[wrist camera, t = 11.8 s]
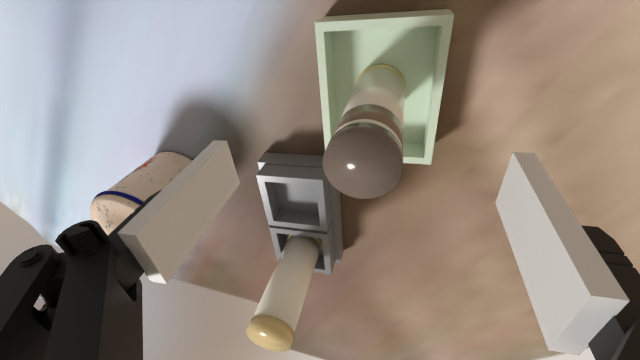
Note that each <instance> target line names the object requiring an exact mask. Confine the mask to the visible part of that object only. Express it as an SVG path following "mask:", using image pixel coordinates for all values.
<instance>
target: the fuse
mask: <svg viewBox="0 0 640 360" xmlns="http://www.w3.org/2000/svg"><path fill="white" fill-rule="evenodd" d="M321 248H322V239H321V238H313V237H305V236H297V235H289V236H288V239H287V242H286V244H285V246H284V249H283V251H282V253H281V255H280V258H279V260H278V262H277V264H276V267H275V269H274V271H273V273H272V276H271V278H270V280H269V282H268V285H267V287H266V289H265V291H264V294H263V296H262V298H261V300H260V303H259V305H258V307H257V309H256V312H255V314H254V316H253V318H252V319H251V322H250V324H249V326H248V328H247V331H246V333H247V335H248V337H249V338H250V339H251V340H252V341H253V342H254V343H256V344H257V345H259V346H261V347H263V348H266V349H269V350H272V351H279V352H281V351H282V352H283V351H287V350H289V349H290V347H291V344H292V341H293V337H294V332H295V329H296V326H297V323H298V320H299V316H300V313H301V310H302V307H303V304H304V300H305V297H306V294H307V291H308V288H309V285H310V281H311V278H312V275H313V272H314V269H315V265H316V262H317V259H318V256H319V253H320V251H321Z"/></svg>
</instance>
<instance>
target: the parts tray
mask: <svg viewBox="0 0 640 360" xmlns="http://www.w3.org/2000/svg"><path fill="white" fill-rule="evenodd" d="M453 20H454V13H453V12H452V11H451V10H450V9H437V10H421V11H405V12H389V13H373V14H357V15H341V16H325V17H323V18H321V19H320V20H318V21H316V22H315V33H316V45H317V58H318V70H319V82H320V94H321V107H322V119H323V131H324V143H325V150H326V148H327V146H328V143H329V141H330V139H331V138H332V136H333V134H334V131H335V129H336V127H337V125H338V122H339V120H340V119H341V116H342V114H343V112H344V110H345V107H346V105H347V103H348V101H349V98H350V96H351V94H352V92H353V89H354V86H355V83H356V81H357V79H358V77H359V75H360V74H361V73H362V72H363V71H364V70H365V69H366V68H368V67H369V66H372V65H375V64H388V65H391V66H393V67H395V68H396V69H397V70H399V71H400V73H401V74H402V76H403V77H404V80H405V85H406V92H405V101H404V126H403V163H412V164H429V165H431V161H432V155H433V148H434V142H435V135H436V129H437V123H438V116H439V110H440V103H441V97H442V91H443V84H444V78H445V71H446V65H447V59H448V52H449V46H450V39H451V33H452V26H453Z"/></svg>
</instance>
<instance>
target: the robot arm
mask: <svg viewBox="0 0 640 360" xmlns="http://www.w3.org/2000/svg"><path fill="white" fill-rule="evenodd" d="M239 184H240V182H239V179H238V175H237V172H236V169H235V166H234V162H233V159H232V156H231V152H230V149H229V146H228V143H227V141H219V140H213V141H212V142H211V143H210V144H209V145H208V146H207V147H206V148H205V149H204V150H203V151H202V152H201V153H200V154H199V155H198V156H197V157H196V158H195V159H194V160H193V161H192V162H191V163H190V164H189V165H188V166H186V167H185V168H184V169H183V170H182V171H181V172H180V173H179V174H178V175H177V176H176V177H175V178H174V179H173V180H172V181H171V182H170V183H169V184H168V185H167V186H166V187H165V188H164V189H163V190H160V191H158V192H156V193H155V194H153V195H151V196H150V197H148V198H147V199H146V200H145V201H144V202H143V203H142V204H141V206H139V207H138V208H137V209H136V210H135V211H134V213H131V214H130V215H129V216H128V217H127V218H126V219H125V220H124V221H123V222H122V223H121V224H120V225H119V226H118V227H116V228H115V229H114V230H113V231H112V232H111V233H110V234H109V235H107V234H106V233H105V231H104V230H103V228H102V227H101V226H100V224H99V223H98V222H96V221H94V220H87V221H83V222H79V223H77V224H75V225H72V226H71V227H69V228H67V229H66V230H64V231H63V232H62V233H61V234H60V235H59V236H58V237H57V239H56V243H57V244H58V245H59V246H60V247H61V248H62V249H63V250H64V253H58V252H56V250H55V249H54V248H53V247H52V246H50V245H39V246H36V247H33V248H30V249H28V250H26V251H24V252H23V253H22V254H20V255H19V256H17V257H16V258H15V259H14V260H13V261H12V262H11V263H10V264H9V265H8V267H7V268H6V270H5V271H4V272H3V273H2V275H1V276H0V360H143V333H142V332H143V329H142V328H143V327H142V284H141V281H140V279H139V278H140V276H141V275H142V274H143V273H144V272H145V274H146V275H147V277H148V278H149V279H150V281H153V282H158V283H164V284H167V283H168V282H169V280H170V279H171V278H172V276H173V275H174V274H175V272H176V271H177V269H178V268H179V267H180V265H181V264H182V263H183V261H184V260H185V258H186V257H187V256H188V254H189V253H190V252H191V250H192V249H193V247H194V246H195V245H196V243H197V242H198V241H199V239H200V238H201V237H202V235H203V234H204V232H205V231H206V230H207V228H208V227H209V226H210V224H211V223H212V221H213V220H214V219H215V217H216V216H217V215H218V213H219V212H220V210H221V209H222V208H223V206H224V205H225V204H226V202H227V201H228V199H229V198H230V197H231V195H232V194H233V193H234V191H235V190H236V188H237V187H238V186H239ZM496 206H497V208H498V211H499V214H500V217H501V219H502V222H503V225H504V228H505V231H506V233H507V236H508V239H509V242H510V245H511V247H512V250H513V253H514V256H515V258H516V261H517V264H518V267H519V270H520V272H521V275H522V278H523V281H524V283H525V286H526V289H527V292H528V295H529V297H530V300H531V303H532V306H533V308H534V311H535V314H536V317H537V320H538V322H539V325H540V328H541V331H542V333H543V336H544V339H545V342H546V345H547V347H548V350H551V351H557V352H563V353H568V354H574V355H580V354H581V353H582V352H583V351H584V350H585V349H586V347H587V346H588V345H589V347H590V349H591V351H592V353H593V355H594V357H595V359H596V360H640V274H639V273H638V271H637V270H636V269H635V268H633V264H632V263H631V262H630V260H629V259H628V258H627V256H624V252H623V251H622V249H621V248H620V247H619V245H618V244H617V243H616V241H615V240H614V239H613V238H612V237H610V236H609V235H608V234H606V233H605V232H604V231H603V230H601V229H600V228H599V227H592V226H581V225H580V223H579V221H578V220H577V218H576V217H575V215H574V214H573V212H572V211H571V209H570V207H569V206H568V204H567V203H566V201H565V200H564V198H563V197H562V195H561V194H560V192H559V190H558V189H557V187H556V186H555V184H554V183H553V181H552V180H551V178H550V177H549V175H548V173H547V172H546V170H545V169H544V167H543V166H542V164H541V163H540V161H539V159H538V158H537V156H536V155H535V153H526V152H513V153H512V156H511V159H510V162H509V165H508V168H507V171H506V174H505V177H504V180H503V183H502V185H501V188H500V191H499V194H498V197H497V200H496ZM37 299H39V300H41V301H42V302H43V303H44V305H43V307H42V309H41V310H40V311H39V310H37V309H36V308H35V307H33V306H34V304H35V302H36V300H37Z"/></svg>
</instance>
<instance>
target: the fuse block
mask: <svg viewBox="0 0 640 360" xmlns="http://www.w3.org/2000/svg"><path fill="white" fill-rule="evenodd" d="M258 166H259V170H260V171H259V172H258V174H257V175H256V176H257V180H258V184H259V188H260V192H261V196H262V200H263V204H264V208H265V212H266V217H267V221H268V225H270V227H269V229H270V233H271V237H272V241H273V245H274V249H275V253H276V257H277V261H278V260H279V258H280V255H281V253H282V251H283V249H284V246H285V244H286V242H287V239H288V236H289V235H297V236H305V237H313V238H321V239H322V248H321V251H320V253H319V256H318V259H317V262H316V265H315V269H314V272H317V273H324V274H330V275H331V274H332V270H333V266H334V262H336V263H341V259H342V254H343V236H342V217H341V198H340V191H339V190H337V189H336V188H335V187H334V186H333V185H332V184H331V183H330V182H329V181H328V179H327V177H326V175H325V173H324V170H323V155H304V154H286V153H268V152H265V153H264V154H263V156H262V157H261V158H260V160H259V161H258Z"/></svg>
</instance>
